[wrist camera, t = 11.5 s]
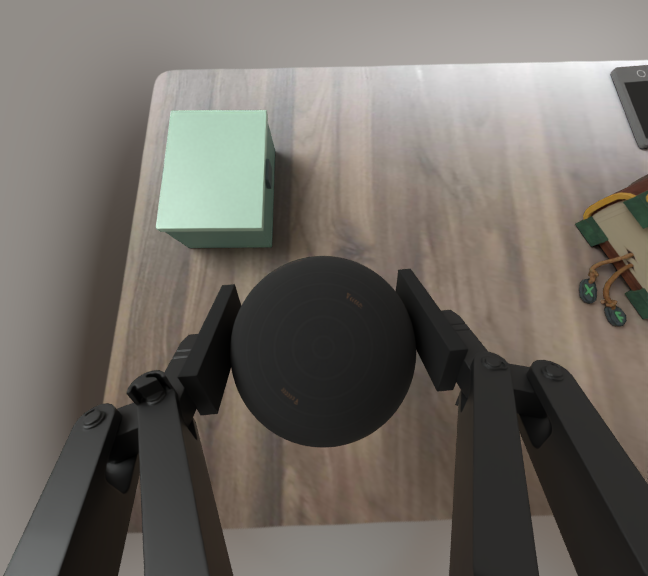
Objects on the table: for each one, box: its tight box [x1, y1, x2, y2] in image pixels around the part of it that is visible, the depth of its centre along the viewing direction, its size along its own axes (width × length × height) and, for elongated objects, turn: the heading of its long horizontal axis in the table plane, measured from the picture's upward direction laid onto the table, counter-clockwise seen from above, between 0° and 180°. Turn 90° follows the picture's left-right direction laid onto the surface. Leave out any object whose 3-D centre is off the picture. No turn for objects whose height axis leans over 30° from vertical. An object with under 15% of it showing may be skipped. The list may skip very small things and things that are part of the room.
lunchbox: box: [156, 110, 275, 248], centre depth 34 cm, size 16×13×7 cm
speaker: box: [230, 256, 416, 447], centre depth 14 cm, size 10×10×10 cm
